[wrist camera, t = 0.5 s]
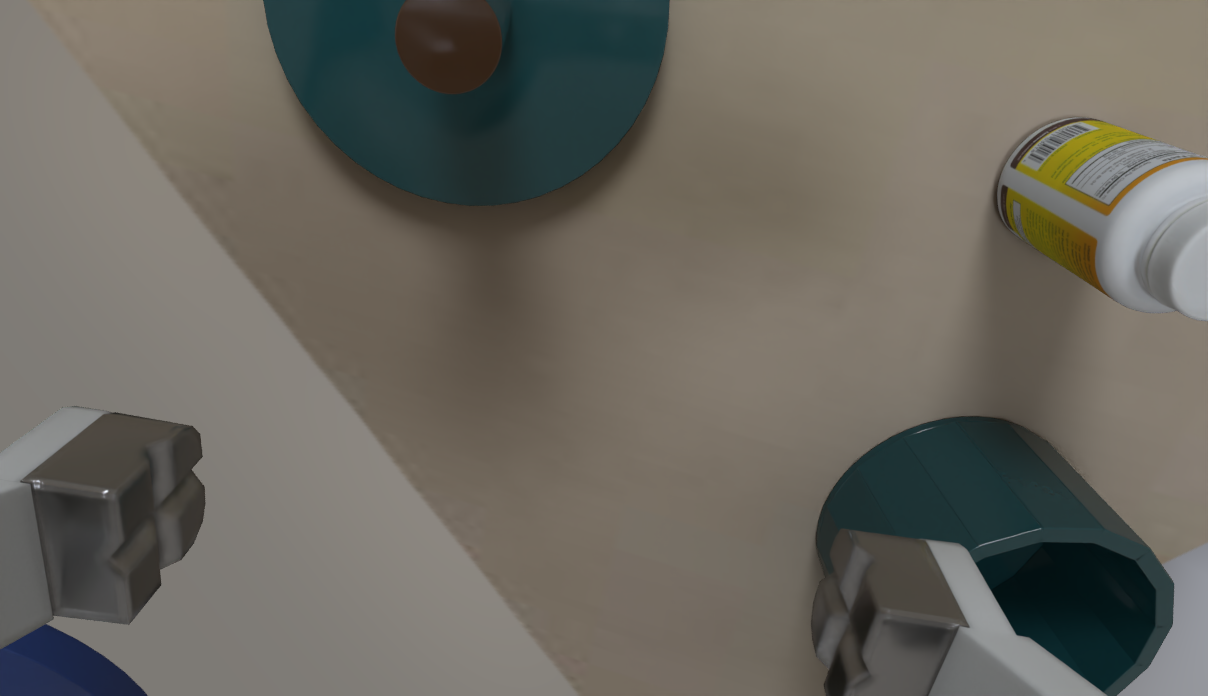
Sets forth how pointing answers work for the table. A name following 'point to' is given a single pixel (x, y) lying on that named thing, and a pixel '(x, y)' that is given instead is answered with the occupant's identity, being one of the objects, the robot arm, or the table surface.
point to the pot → (1017, 538)
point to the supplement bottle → (1114, 212)
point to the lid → (472, 86)
